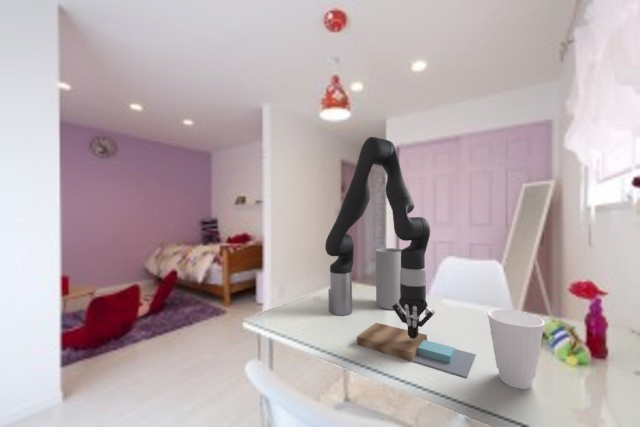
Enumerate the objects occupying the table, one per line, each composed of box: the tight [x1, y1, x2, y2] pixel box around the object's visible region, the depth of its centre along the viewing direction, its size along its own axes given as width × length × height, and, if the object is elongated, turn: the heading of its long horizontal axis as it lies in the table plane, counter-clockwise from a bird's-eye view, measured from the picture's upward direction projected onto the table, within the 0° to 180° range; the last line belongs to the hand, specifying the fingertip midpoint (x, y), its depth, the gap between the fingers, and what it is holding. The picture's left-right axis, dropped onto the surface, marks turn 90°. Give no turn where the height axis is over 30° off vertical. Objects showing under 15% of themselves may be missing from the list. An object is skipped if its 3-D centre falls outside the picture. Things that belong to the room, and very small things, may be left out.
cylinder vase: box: [375, 247, 403, 311], centre depth 128 cm, size 12×12×25 cm
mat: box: [411, 348, 477, 379], centre depth 83 cm, size 14×14×1 cm
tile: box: [418, 339, 456, 363], centre depth 84 cm, size 9×6×2 cm, turn 53°
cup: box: [487, 308, 546, 390], centre depth 72 cm, size 12×12×16 cm
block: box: [356, 322, 428, 362], centre depth 92 cm, size 18×14×2 cm
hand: (413, 337), depth 88 cm, fingers closed
